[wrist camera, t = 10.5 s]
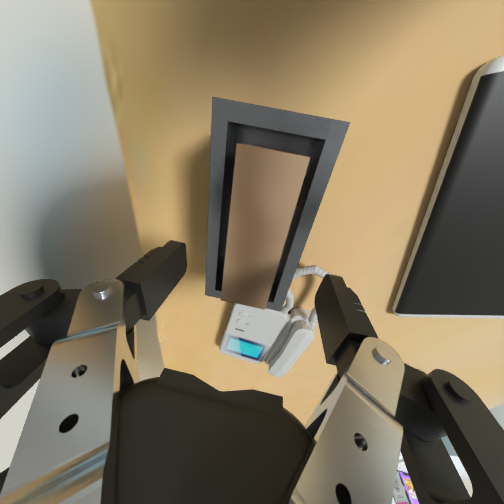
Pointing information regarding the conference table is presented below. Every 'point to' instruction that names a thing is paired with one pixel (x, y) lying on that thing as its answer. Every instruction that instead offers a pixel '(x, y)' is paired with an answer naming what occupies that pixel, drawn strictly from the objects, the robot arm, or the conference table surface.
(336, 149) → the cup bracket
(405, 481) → the candy box
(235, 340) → the intercom
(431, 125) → the conference table surface
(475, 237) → the smartphone
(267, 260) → the brown rectangular block
